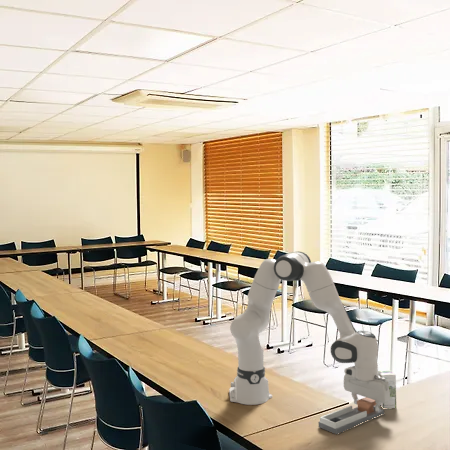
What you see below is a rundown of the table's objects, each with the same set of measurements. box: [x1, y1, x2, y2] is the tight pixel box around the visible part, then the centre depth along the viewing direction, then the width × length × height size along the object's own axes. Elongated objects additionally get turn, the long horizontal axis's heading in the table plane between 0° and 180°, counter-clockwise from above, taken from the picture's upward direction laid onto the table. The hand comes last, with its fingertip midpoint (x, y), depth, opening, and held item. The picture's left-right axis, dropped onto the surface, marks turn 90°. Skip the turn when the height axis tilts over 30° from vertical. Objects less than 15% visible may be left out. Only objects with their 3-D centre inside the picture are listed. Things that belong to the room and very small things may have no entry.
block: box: [357, 397, 377, 414], centre depth 226 cm, size 6×5×4 cm
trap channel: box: [318, 405, 385, 435], centre depth 220 cm, size 28×9×4 cm, turn 128°
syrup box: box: [378, 370, 397, 409], centre depth 233 cm, size 6×6×14 cm
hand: (366, 407), depth 226 cm, fingers open, 8 cm apart
